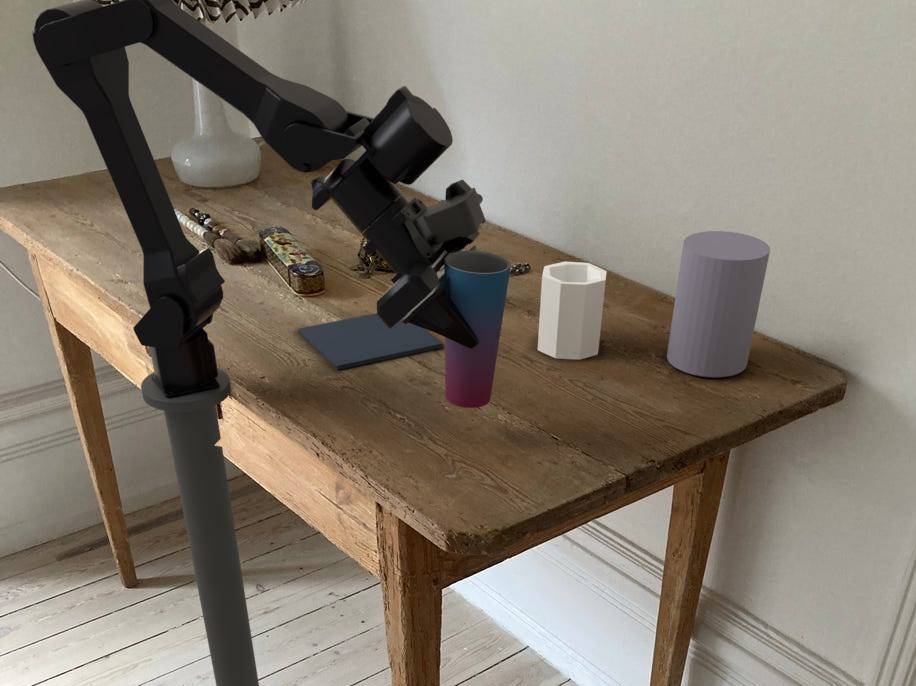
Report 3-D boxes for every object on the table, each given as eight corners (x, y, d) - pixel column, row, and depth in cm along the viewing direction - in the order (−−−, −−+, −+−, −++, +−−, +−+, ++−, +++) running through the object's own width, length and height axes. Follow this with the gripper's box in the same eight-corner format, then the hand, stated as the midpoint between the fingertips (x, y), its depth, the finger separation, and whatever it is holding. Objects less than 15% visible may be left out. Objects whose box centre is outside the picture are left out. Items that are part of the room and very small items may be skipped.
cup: (429, 405, 112) (436, 266, 102) (446, 380, 117) (453, 246, 108) (490, 416, 111) (502, 277, 102) (504, 390, 116) (517, 256, 107)
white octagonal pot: (609, 357, 134) (617, 282, 128) (546, 362, 132) (551, 287, 126) (579, 321, 143) (585, 249, 137) (520, 326, 141) (523, 253, 135)
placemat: (337, 370, 129) (337, 365, 129) (298, 332, 138) (297, 328, 138) (442, 347, 135) (442, 343, 135) (398, 313, 144) (398, 308, 144)
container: (671, 341, 138) (688, 227, 129) (748, 351, 137) (771, 236, 127) (661, 373, 131) (679, 254, 121) (744, 384, 129) (768, 264, 119)
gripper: (405, 187, 92) (517, 323, 97) (462, 136, 106) (558, 257, 111) (328, 264, 99) (437, 387, 104) (392, 206, 113) (485, 318, 118)
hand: (483, 334), depth 109 cm, fingers closed on cup, 6 cm apart
